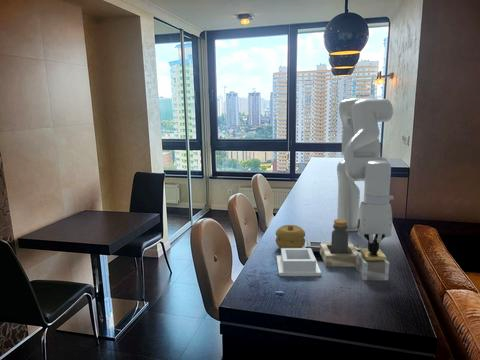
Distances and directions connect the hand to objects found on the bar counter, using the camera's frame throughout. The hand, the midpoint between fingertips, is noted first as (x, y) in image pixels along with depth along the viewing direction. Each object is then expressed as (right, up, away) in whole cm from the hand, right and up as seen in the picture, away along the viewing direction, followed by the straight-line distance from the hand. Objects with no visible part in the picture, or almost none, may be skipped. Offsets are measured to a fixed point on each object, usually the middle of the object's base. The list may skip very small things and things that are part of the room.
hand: (373, 252), depth 116 cm
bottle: (-7, -5, +14) cm, 17 cm away
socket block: (-5, -6, +9) cm, 12 cm away
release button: (0, -6, +1) cm, 6 cm away
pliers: (+4, -4, +23) cm, 24 cm away
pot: (-24, -4, +24) cm, 34 cm away
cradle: (-24, -7, +9) cm, 26 cm away
